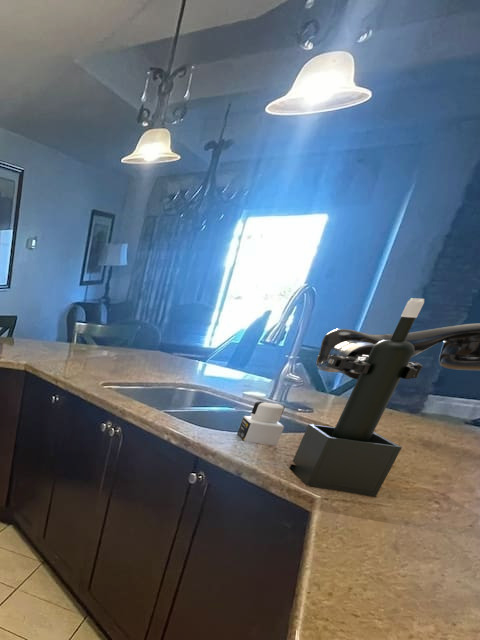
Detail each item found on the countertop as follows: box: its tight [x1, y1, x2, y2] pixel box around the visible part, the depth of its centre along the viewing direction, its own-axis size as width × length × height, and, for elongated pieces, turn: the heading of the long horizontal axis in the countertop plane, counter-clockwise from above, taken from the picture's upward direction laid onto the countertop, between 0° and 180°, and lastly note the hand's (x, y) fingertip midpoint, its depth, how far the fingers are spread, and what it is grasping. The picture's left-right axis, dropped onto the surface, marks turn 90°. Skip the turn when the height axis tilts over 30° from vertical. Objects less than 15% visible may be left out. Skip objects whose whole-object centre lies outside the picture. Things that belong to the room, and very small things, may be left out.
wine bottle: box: [331, 297, 425, 442], centre depth 99 cm, size 6×6×30 cm
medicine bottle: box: [236, 400, 286, 447], centre depth 128 cm, size 7×7×12 cm
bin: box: [288, 423, 403, 498], centre depth 106 cm, size 11×11×11 cm
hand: (387, 371), depth 97 cm, fingers closed on wine bottle, 5 cm apart
